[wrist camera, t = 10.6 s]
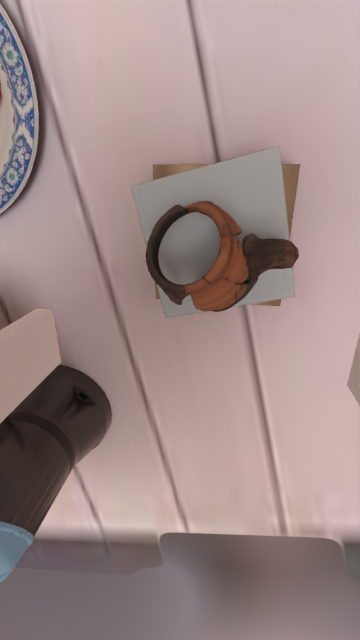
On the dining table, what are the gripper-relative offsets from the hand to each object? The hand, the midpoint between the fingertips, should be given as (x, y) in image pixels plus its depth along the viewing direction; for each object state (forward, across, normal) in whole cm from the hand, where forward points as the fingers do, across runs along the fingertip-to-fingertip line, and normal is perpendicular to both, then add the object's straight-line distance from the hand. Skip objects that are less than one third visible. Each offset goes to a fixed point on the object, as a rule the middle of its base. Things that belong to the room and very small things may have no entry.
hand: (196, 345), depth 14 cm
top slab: (+22, 0, +2) cm, 22 cm away
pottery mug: (+18, +1, +1) cm, 18 cm away
